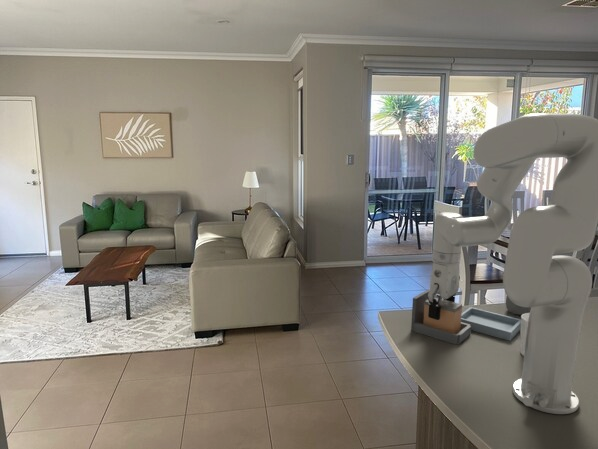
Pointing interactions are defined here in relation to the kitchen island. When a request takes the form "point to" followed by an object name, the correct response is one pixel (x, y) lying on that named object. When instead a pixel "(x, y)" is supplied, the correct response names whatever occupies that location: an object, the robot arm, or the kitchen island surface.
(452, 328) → the block
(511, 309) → the smart speaker
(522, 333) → the white cup
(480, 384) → the kitchen island surface
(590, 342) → the kitchen island surface
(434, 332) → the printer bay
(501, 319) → the tray
